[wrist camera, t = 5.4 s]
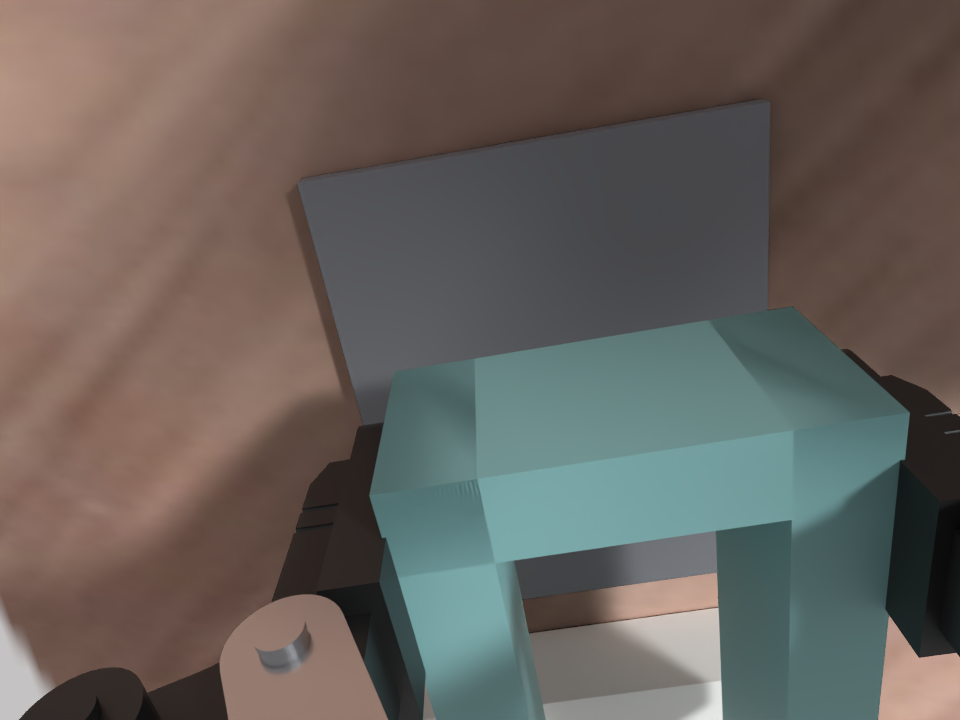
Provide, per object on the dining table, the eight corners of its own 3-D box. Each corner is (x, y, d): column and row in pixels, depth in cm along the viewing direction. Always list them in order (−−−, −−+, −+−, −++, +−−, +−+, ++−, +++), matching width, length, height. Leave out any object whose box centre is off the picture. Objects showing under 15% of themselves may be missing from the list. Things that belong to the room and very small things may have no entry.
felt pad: (301, 178, 13) (296, 183, 12) (761, 99, 12) (770, 101, 12) (416, 601, 17) (415, 614, 17) (758, 553, 16) (764, 565, 16)
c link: (393, 371, 11) (369, 494, 8) (792, 306, 10) (909, 412, 8) (493, 763, 14) (500, 936, 12) (784, 725, 14) (859, 894, 11)
